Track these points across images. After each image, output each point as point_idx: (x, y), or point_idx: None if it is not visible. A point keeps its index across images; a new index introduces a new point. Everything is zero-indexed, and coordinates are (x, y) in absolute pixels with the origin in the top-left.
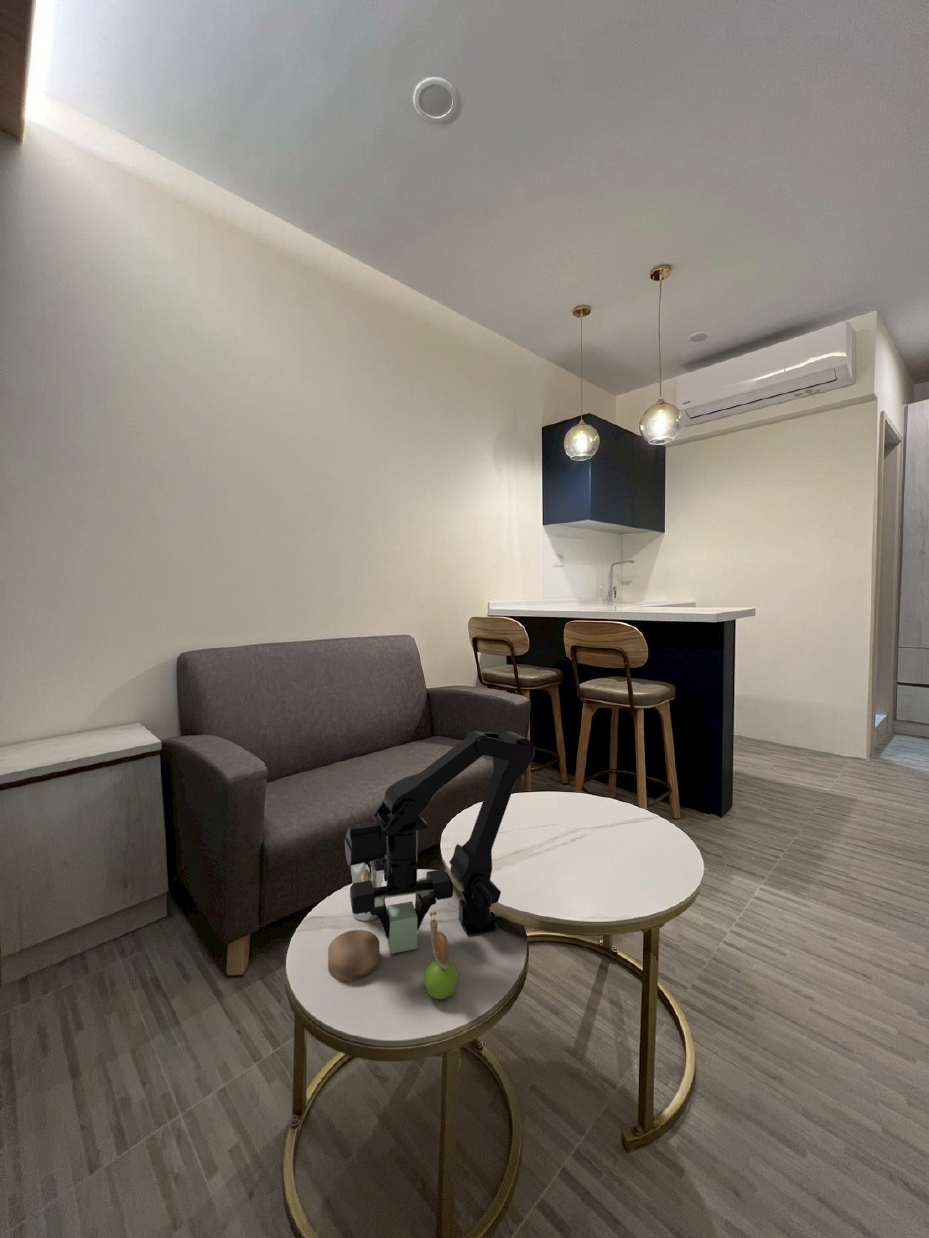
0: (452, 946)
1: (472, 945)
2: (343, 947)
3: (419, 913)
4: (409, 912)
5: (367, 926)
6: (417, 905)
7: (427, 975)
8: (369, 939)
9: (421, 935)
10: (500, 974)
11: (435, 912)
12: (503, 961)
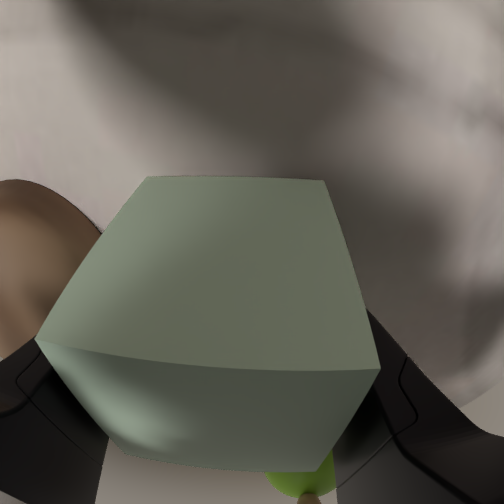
0: (449, 304)
1: (497, 313)
2: None
3: (336, 481)
4: (276, 452)
5: (57, 31)
6: (361, 475)
7: (267, 478)
8: (47, 309)
9: (372, 198)
10: (461, 395)
11: None
12: (497, 369)
